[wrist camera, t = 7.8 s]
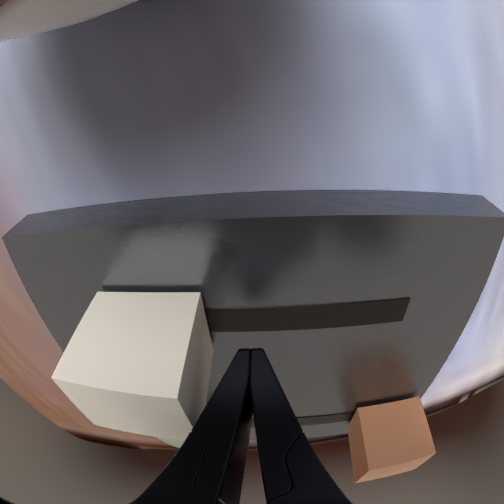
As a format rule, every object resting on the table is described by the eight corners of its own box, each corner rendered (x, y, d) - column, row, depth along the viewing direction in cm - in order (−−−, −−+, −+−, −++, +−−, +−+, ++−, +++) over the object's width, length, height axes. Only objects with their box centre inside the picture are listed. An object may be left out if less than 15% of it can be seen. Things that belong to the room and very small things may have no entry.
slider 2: (419, 396, 14) (436, 452, 11) (403, 418, 16) (415, 468, 12) (357, 407, 14) (368, 470, 11) (347, 428, 16) (354, 483, 12)
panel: (481, 195, 10) (510, 218, 8) (395, 401, 18) (401, 423, 17) (27, 215, 11) (1, 238, 9) (130, 406, 19) (123, 428, 18)
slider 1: (200, 292, 10) (176, 398, 6) (213, 349, 11) (201, 441, 8) (97, 291, 10) (51, 377, 7) (123, 345, 12) (94, 424, 8)
